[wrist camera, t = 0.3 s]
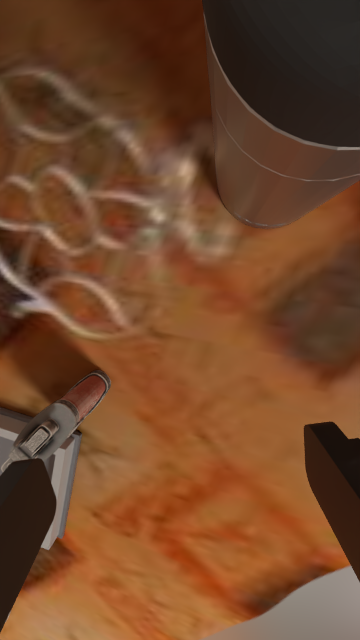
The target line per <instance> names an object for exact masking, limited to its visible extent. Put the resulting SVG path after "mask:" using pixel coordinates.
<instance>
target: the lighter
mask: <svg viewBox="0 0 360 640" xmlns="http://www.w3.org/2000/svg"><path fill="white" fill-rule="evenodd" d="M110 386H111V381H110V378H109V377H108V376H107V374H105V373H104V372H102V371H100V370H95V371H93V372H91V373H90V374H88V375H87V376H86V377H84V378H83V379H81V380H80V381H79V382H78V383H77V384H75V385H74V386H73V387H72V388H71V389H70V390H69V391H68V392H67V394H66V395H64V396H63V397H62V398H61V399H60V400H57V401H55V402H54V403H52V404H51V405H49V406H48V407H46V408H45V409H44V410H42V411H41V412H40V413H39V414H37V415H36V416H35V417H34V418H33V419H32V420H31V421H30V422H29V423H28V424H27V425H26V426H25V427H24V429H23V430H22V431H21V433H20V434H19V435H18V437H17V438H16V440H15V442H14V444H13V446H12V447H11V450H10V454H9V455H8V456H9V457H10V458H9V459H8V460H7V461H6V462H5V463H4V464H3V465H2V467H1V470H2V471H3V472H4V471H5V469H6V468H7V467H8V466H9V465H10V464H11V463H12V462H14V461H18V460H26V459H34V458H40V459H42V460H43V461H45V460H46V459H47V458H48V457H50V456H51V455H52V454H53V453H54V452H56V451H57V449H58V448H59V447H60V446H61V445H62V444H63V443H64V441H65V440H66V439H67V438H68V437H69V436H70V435H71V434H72V433H73V432H74V431H75V429H76V428H77V427H78V426H79V425H80V424H81V422H82V421H83V420H84V418H85V417H86V416H87V415H88V414H90V413H91V412H92V411H93V410H94V409H95V408H96V406H97V405H98V404H99V403H100V402H101V400H102V399H103V398H104V396H105V395H106V393H107V392H108V390H109V388H110Z"/></svg>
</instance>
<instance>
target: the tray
mask: <svg viewBox="0 0 360 640" xmlns="http://www.w3.org/2000/svg"><path fill="white" fill-rule="evenodd" d="M32 419H33V417H30V416H26V415H23V414H20V413H17V412H14V411H11V410H8V409H5V408H2V407H0V476H1V474H2V473H3V471H2V470H1V467H2V465H3V464H4V463H5V462H6V461H7V460H8V459H9V458H10V457H9V456H8V455H9V454H10V450H11V447H12V446H13V444H14V442H15V440H16V438H17V437H18V435H19V434H20V433H21V431H22V430H23V429H24V427H25V426H26V425H27V424H28V423H29V422H30V421H31V420H32ZM81 437H82V433H79V432H76V431H74V432H73V433H72V434H71V435H70V436H69V437H68V438H67V439H66V440H65V441H64V443H63V444H62V445H61V446H60V447H59V448H58V449H57V451H56V452H54V453H53V454H52V455H51V456H50V457H48V458H47V459H46V460H45V461H43V462H44V464H45V467H46V469H47V472H48V475H49V478H50V481H51V484H52V487H53V489H54V492H55V495H56V501H57V506H56V513H55V517H54V520H53V522H52V524H51V526H50V528H49V531H48V533H47V535H46V537H45V539H44V541H43V543H42V545H41V547H42V548H45V549H47V550H49V549H50V547H51V546H52V544H53V542H54V541H55V539H56V538H57V537H59V538H62V537H63V536H64V532H65V526H66V521H67V515H68V509H69V504H70V498H71V493H72V487H73V481H74V476H75V470H76V465H77V459H78V453H79V448H80V442H81Z"/></svg>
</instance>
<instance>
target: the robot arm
mask: <svg viewBox="0 0 360 640" xmlns="http://www.w3.org/2000/svg"><path fill="white" fill-rule="evenodd" d="M202 2H203V9H204V24H205V37H206V50H207V62H208V75H209V83H210V97H211V110H212V124H213V137H214V151H215V166H216V179H217V186H218V192H219V194H220V197H221V200H222V202H223V204H224V205H225V207H226V208H227V210H228V211H229V212H230V213H231V214H232V215H233V216H234V217H235V218H236V219H237V220H239V221H241V222H242V223H244V224H246V225H249V226H252V227H255V228H263V229H270V228H278V227H281V226H285V225H288V224H290V223H292V222H294V221H296V220H297V219H299V218H301V217H302V216H304V215H305V214H307V213H309V212H311V211H312V210H314V209H315V208H317V207H318V206H320V205H322V204H323V203H325V202H326V201H328V200H329V199H331V198H333V197H334V196H336V195H337V194H339V193H340V192H342V191H344V190H345V189H347V188H348V187H350V186H351V185H353V184H355V183H356V182H358V181H359V180H360V0H202ZM304 446H305V466H306V473H307V477H308V481H309V484H310V487H311V489H312V491H313V493H314V495H315V497H316V499H317V501H318V503H319V505H320V507H321V509H322V511H323V512H324V514H325V516H326V518H327V520H328V522H329V524H330V526H331V528H332V530H333V532H334V534H335V536H336V537H337V539H338V541H339V543H340V545H341V547H342V549H343V551H344V553H345V555H346V557H347V559H348V560H349V562H350V564H351V566H352V568H353V570H354V572H355V574H356V576H357V578H358V580H359V581H360V439H359V438H355V439H348V438H347V437H346V436H345V435H344V433H343V432H342V431H341V430H340V429H339V427H338V426H337V425H336V424H335V423H334V422H323V423H315V424H308V425H305V426H304ZM56 506H57V501H56V495H55V492H54V489H53V487H52V484H51V481H50V478H49V475H48V472H47V469H46V467H45V464H44V462H43V460H42V459H40V458H34V459H26V460H18V461H14V462H12V463H11V464H10V465H9V466H8V467H7V468H6V469H5V471H4V472H3V473H2V474H1V476H0V632H1V630H2V628H3V626H4V624H5V622H6V620H7V617H8V615H9V613H10V611H11V609H12V607H13V605H14V603H15V600H16V598H17V596H18V594H19V592H20V590H21V588H22V586H23V584H24V581H25V579H26V577H27V575H28V573H29V571H30V569H31V567H32V564H33V562H34V560H35V558H36V556H37V554H38V552H39V550H40V547H41V545H42V543H43V541H44V539H45V537H46V535H47V533H48V531H49V528H50V526H51V524H52V522H53V520H54V517H55V513H56Z"/></svg>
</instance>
